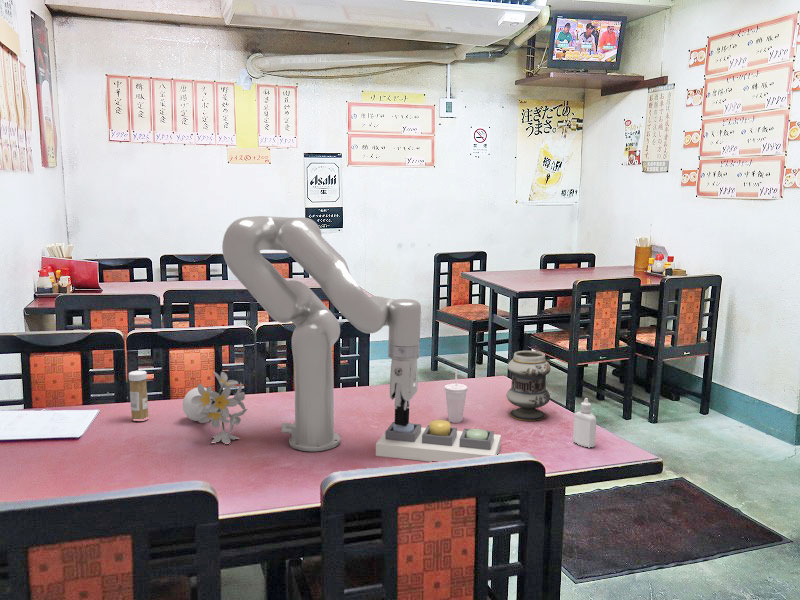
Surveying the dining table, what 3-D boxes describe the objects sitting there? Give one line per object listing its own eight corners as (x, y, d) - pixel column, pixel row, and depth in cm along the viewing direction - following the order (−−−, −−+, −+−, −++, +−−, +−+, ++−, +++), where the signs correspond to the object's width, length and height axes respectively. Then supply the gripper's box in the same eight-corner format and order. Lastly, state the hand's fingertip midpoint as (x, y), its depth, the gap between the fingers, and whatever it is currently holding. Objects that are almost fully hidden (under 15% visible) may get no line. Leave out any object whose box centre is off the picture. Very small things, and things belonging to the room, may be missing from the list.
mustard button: (427, 435, 158) (427, 425, 157) (431, 428, 162) (431, 419, 162) (448, 437, 156) (448, 427, 156) (451, 430, 161) (452, 420, 161)
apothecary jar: (519, 406, 196) (521, 346, 193) (556, 414, 188) (559, 352, 185) (497, 416, 186) (500, 353, 184) (536, 425, 179) (539, 360, 176)
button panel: (375, 455, 157) (375, 435, 156) (391, 435, 170) (391, 416, 170) (494, 468, 150) (494, 447, 149) (500, 446, 163) (501, 427, 163)
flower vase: (186, 446, 179) (215, 452, 159) (165, 382, 179) (191, 379, 158) (230, 428, 187) (263, 432, 166) (211, 366, 186) (242, 362, 165)
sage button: (464, 444, 156) (465, 435, 155) (467, 437, 161) (468, 428, 160) (486, 446, 155) (486, 437, 154) (488, 439, 159) (488, 429, 159)
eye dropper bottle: (579, 449, 162) (581, 401, 161) (571, 440, 168) (573, 395, 166) (596, 448, 163) (599, 401, 161) (587, 440, 168) (590, 394, 166)
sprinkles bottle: (151, 420, 180) (149, 372, 178) (135, 424, 177) (132, 375, 175) (144, 416, 183) (142, 369, 181) (128, 419, 180) (125, 371, 178)
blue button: (391, 437, 160) (391, 427, 160) (396, 430, 165) (396, 421, 164) (411, 439, 159) (411, 429, 158) (415, 432, 164) (415, 423, 163)
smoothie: (466, 417, 185) (468, 368, 183) (466, 425, 179) (468, 374, 177) (444, 416, 186) (444, 367, 184) (443, 424, 179) (444, 373, 177)
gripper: (411, 359, 151) (409, 436, 153) (425, 345, 165) (423, 416, 168) (380, 356, 152) (378, 432, 155) (396, 343, 167) (394, 413, 170)
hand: (401, 424), depth 161 cm, fingers closed
